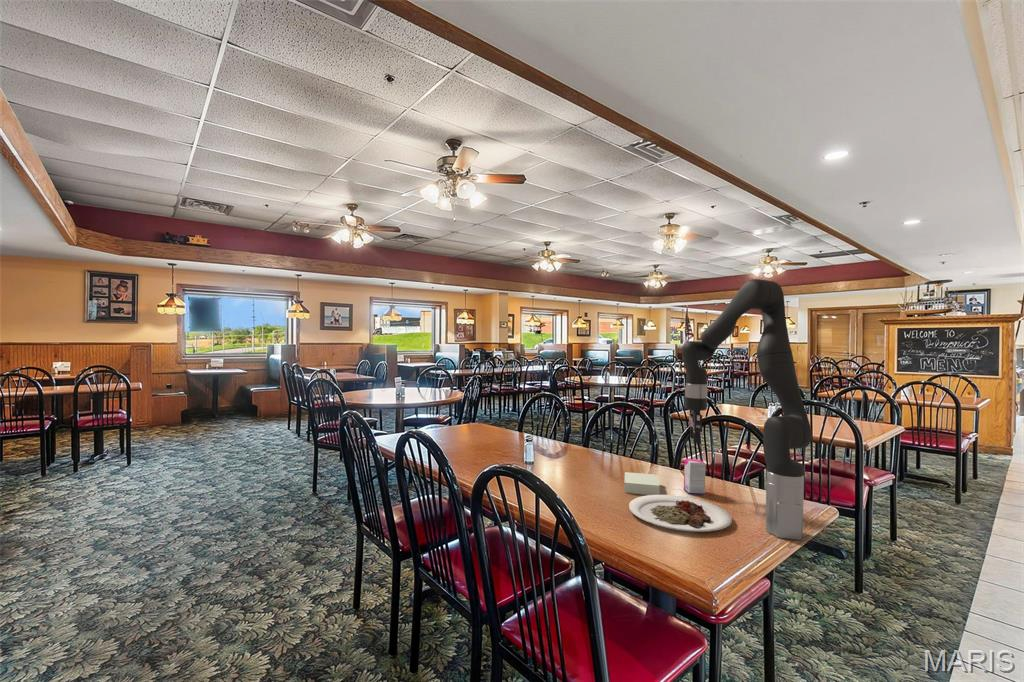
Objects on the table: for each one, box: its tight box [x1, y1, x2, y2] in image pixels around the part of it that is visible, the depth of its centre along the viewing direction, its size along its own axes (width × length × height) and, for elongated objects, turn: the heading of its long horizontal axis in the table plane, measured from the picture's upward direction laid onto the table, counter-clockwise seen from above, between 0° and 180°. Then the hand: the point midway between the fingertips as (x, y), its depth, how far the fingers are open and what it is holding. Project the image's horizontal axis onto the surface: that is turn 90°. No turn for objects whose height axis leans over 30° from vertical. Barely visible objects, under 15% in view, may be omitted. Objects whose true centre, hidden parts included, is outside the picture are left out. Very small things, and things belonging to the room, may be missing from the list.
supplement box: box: [683, 458, 707, 496], centre depth 166 cm, size 6×6×12 cm
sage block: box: [623, 471, 660, 496], centre depth 169 cm, size 14×12×4 cm
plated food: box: [628, 494, 733, 533], centre depth 142 cm, size 30×30×3 cm
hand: (695, 440), depth 166 cm, fingers open, 8 cm apart
